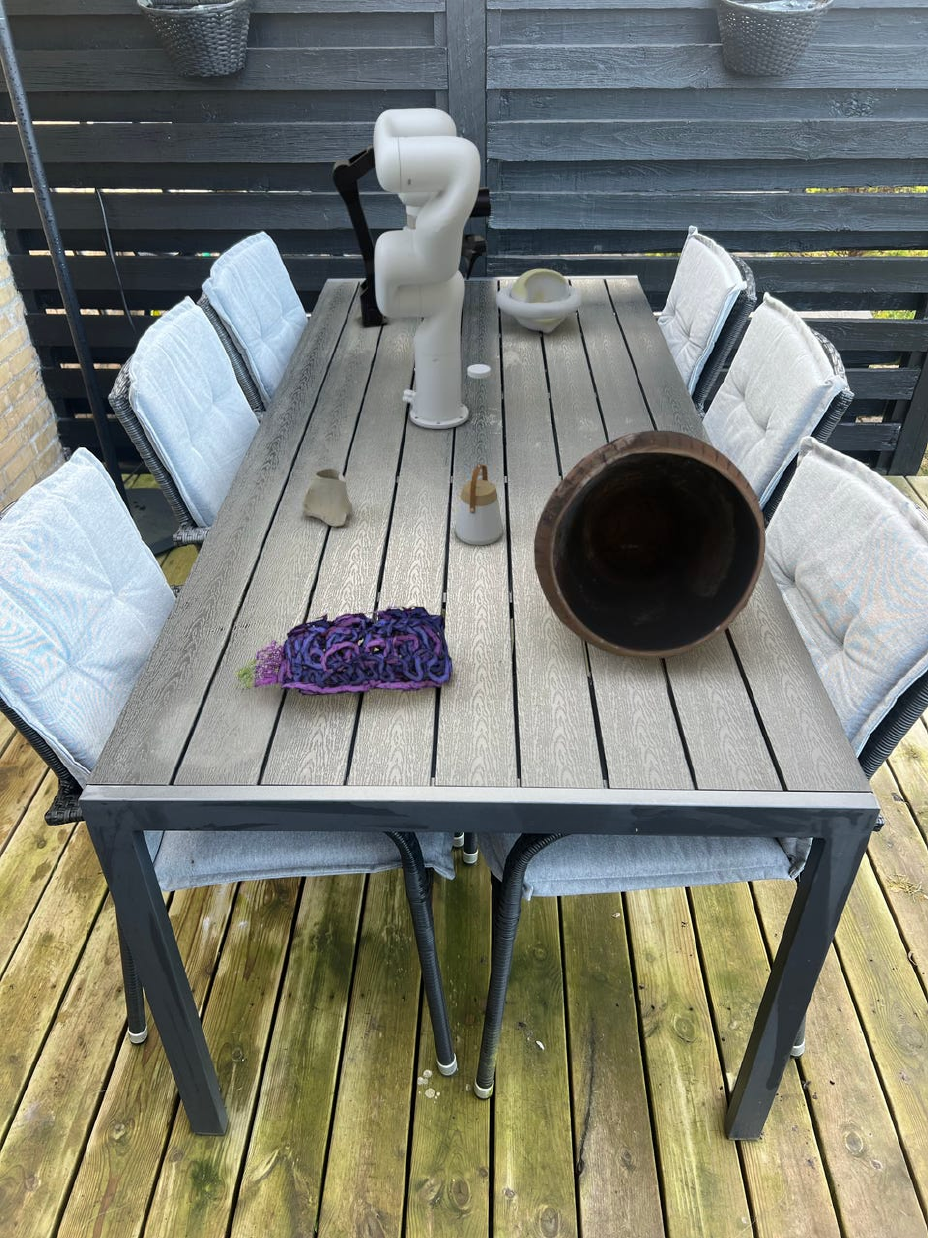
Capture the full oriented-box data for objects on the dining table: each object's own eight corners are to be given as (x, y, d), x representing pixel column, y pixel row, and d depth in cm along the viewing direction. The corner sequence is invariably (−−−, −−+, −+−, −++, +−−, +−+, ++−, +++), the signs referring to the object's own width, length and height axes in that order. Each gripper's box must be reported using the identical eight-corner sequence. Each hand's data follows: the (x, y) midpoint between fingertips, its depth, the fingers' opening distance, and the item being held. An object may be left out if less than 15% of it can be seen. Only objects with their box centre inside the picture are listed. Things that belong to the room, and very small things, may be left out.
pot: (569, 390, 148) (614, 390, 119) (739, 473, 153) (822, 494, 124) (483, 572, 154) (505, 616, 125) (649, 647, 159) (708, 705, 130)
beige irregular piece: (352, 523, 169) (358, 468, 167) (345, 530, 162) (351, 474, 159) (303, 516, 169) (308, 461, 167) (294, 523, 162) (299, 466, 159)
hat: (489, 313, 250) (490, 256, 241) (569, 310, 251) (573, 252, 242) (502, 348, 230) (503, 287, 221) (589, 343, 232) (594, 283, 223)
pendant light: (493, 549, 158) (495, 382, 140) (448, 540, 161) (445, 375, 142) (508, 525, 164) (512, 362, 146) (465, 517, 167) (463, 355, 148)
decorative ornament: (458, 672, 122) (225, 684, 119) (455, 713, 130) (238, 725, 128) (450, 592, 130) (231, 602, 127) (447, 636, 138) (243, 646, 135)
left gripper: (422, 229, 224) (424, 295, 234) (495, 222, 229) (494, 287, 238) (410, 218, 232) (412, 281, 242) (480, 211, 237) (480, 274, 247)
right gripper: (460, 214, 206) (460, 296, 217) (383, 218, 204) (388, 301, 215) (465, 223, 200) (465, 308, 211) (386, 227, 198) (391, 312, 209)
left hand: (450, 281), depth 242 cm, fingers open, 9 cm apart
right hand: (426, 303), depth 213 cm, fingers closed on tin, 4 cm apart
